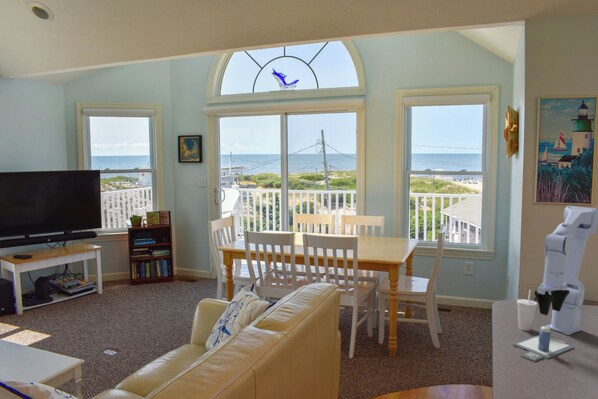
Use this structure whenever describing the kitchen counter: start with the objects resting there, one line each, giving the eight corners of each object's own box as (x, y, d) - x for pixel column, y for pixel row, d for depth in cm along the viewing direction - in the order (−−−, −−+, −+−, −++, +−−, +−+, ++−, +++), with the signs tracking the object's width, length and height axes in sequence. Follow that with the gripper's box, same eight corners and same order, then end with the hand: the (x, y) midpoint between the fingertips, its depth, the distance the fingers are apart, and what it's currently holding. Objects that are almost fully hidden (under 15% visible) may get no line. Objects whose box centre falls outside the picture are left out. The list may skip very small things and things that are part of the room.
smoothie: (537, 333, 156) (541, 293, 154) (517, 331, 157) (520, 291, 156) (531, 326, 162) (535, 288, 161) (512, 324, 163) (515, 286, 162)
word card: (530, 352, 140) (530, 350, 140) (543, 357, 137) (543, 356, 137) (521, 356, 137) (521, 354, 137) (534, 361, 134) (534, 359, 134)
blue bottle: (541, 346, 143) (544, 325, 142) (550, 350, 141) (553, 328, 140) (535, 348, 142) (538, 327, 141) (545, 352, 139) (547, 330, 138)
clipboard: (539, 335, 154) (540, 332, 154) (574, 347, 145) (574, 345, 145) (512, 345, 145) (513, 342, 145) (547, 358, 136) (547, 356, 136)
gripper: (555, 277, 139) (550, 320, 141) (578, 271, 147) (574, 312, 149) (532, 271, 145) (528, 312, 147) (556, 266, 153) (552, 305, 155)
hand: (550, 312), depth 148 cm, fingers open, 7 cm apart
